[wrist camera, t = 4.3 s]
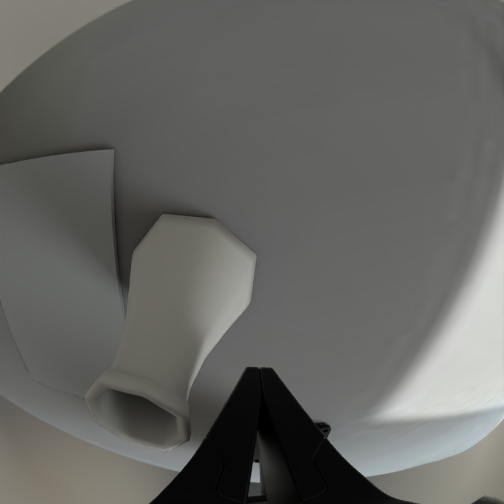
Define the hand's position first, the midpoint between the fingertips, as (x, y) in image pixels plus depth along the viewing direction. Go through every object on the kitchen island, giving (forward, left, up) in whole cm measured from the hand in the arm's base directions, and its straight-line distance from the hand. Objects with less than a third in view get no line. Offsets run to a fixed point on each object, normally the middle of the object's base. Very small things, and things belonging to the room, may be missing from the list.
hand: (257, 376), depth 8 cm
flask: (0, +3, -8) cm, 9 cm away
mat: (-3, +14, -8) cm, 17 cm away
